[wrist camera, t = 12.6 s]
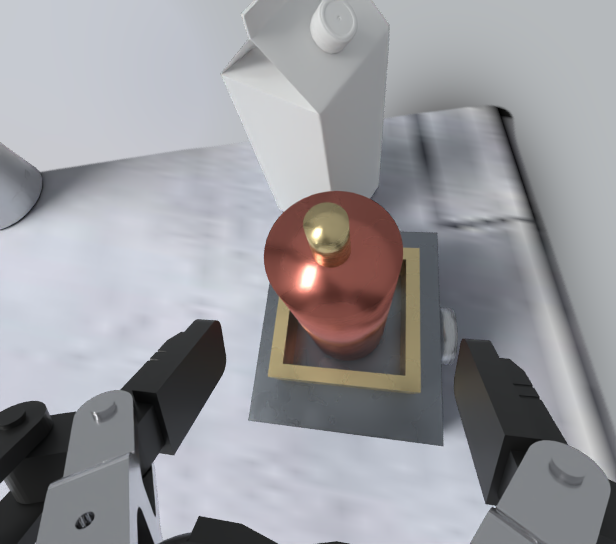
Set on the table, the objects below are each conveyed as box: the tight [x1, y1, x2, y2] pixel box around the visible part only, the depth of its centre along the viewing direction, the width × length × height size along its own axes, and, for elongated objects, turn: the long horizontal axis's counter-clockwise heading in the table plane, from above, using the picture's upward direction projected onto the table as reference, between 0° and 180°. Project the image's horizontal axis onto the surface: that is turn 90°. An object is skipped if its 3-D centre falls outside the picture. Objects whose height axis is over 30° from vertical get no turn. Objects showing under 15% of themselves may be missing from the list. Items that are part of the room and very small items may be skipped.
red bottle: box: [264, 191, 403, 361], centre depth 17 cm, size 5×5×14 cm
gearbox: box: [248, 232, 458, 446], centre depth 24 cm, size 13×14×8 cm
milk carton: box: [221, 0, 389, 212], centre depth 24 cm, size 7×7×19 cm
